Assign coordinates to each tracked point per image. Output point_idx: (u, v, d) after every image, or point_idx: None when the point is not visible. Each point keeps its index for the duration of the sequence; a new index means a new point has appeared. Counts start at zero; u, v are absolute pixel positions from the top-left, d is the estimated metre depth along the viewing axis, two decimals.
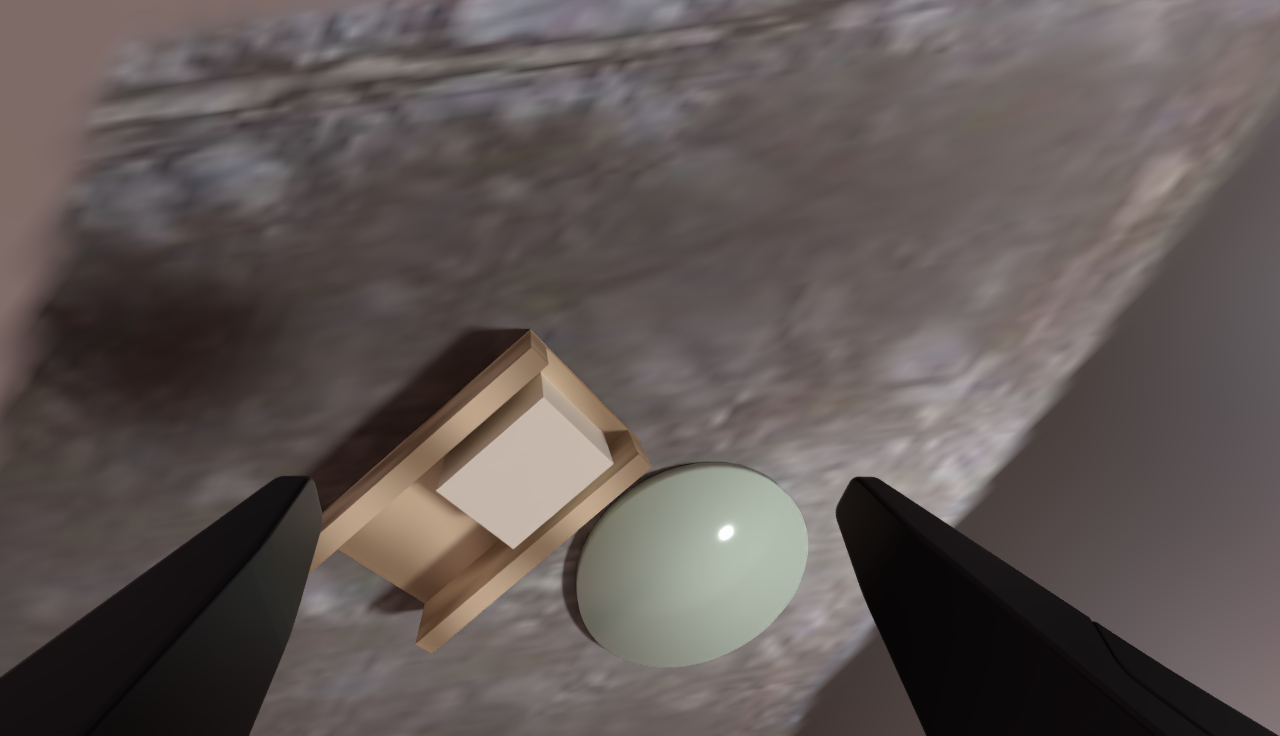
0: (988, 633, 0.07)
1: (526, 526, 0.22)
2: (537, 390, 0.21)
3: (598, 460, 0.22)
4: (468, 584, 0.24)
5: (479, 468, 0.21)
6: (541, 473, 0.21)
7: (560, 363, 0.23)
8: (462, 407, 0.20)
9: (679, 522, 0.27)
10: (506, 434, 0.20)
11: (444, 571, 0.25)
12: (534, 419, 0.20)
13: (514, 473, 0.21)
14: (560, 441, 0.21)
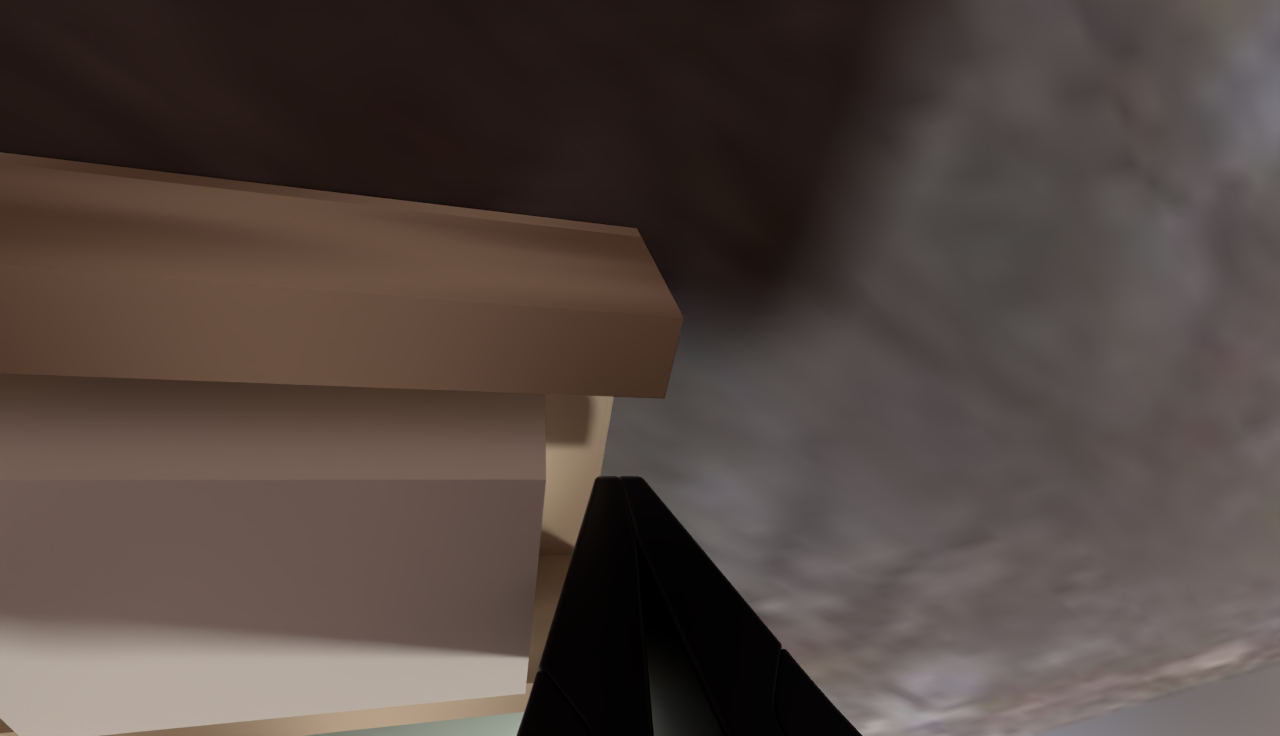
0: (672, 661, 0.06)
1: (132, 714, 0.06)
2: (523, 409, 0.06)
3: (501, 674, 0.07)
4: None
5: (85, 521, 0.04)
6: (319, 633, 0.06)
7: None
8: (252, 279, 0.04)
9: (506, 717, 0.13)
10: (309, 493, 0.05)
11: None
12: (450, 512, 0.05)
13: (224, 597, 0.05)
14: (458, 598, 0.06)
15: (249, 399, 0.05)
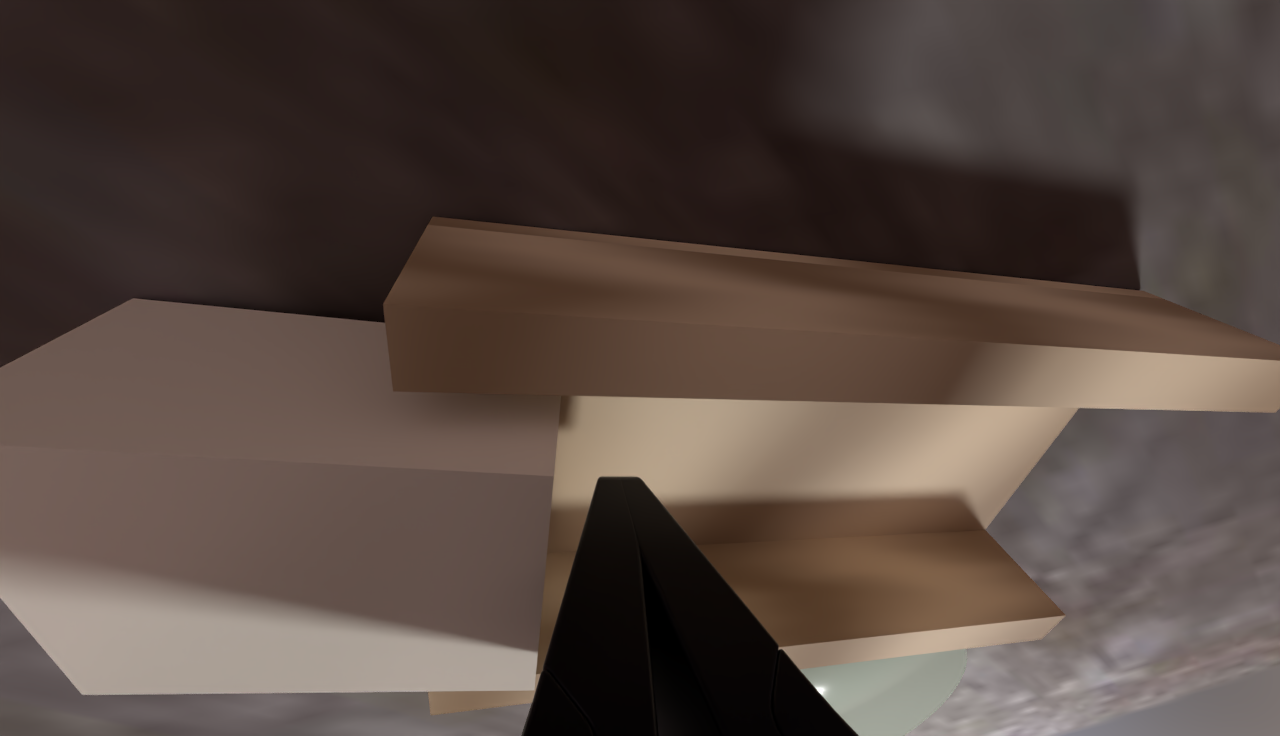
0: (669, 662, 0.06)
1: (172, 677, 0.07)
2: (538, 408, 0.06)
3: (511, 667, 0.07)
4: None
5: (137, 491, 0.05)
6: (339, 613, 0.06)
7: None
8: (1150, 349, 0.07)
9: (859, 669, 0.16)
10: (332, 478, 0.05)
11: (551, 532, 0.10)
12: (462, 503, 0.05)
13: (256, 571, 0.06)
14: (469, 588, 0.06)
15: (286, 387, 0.06)
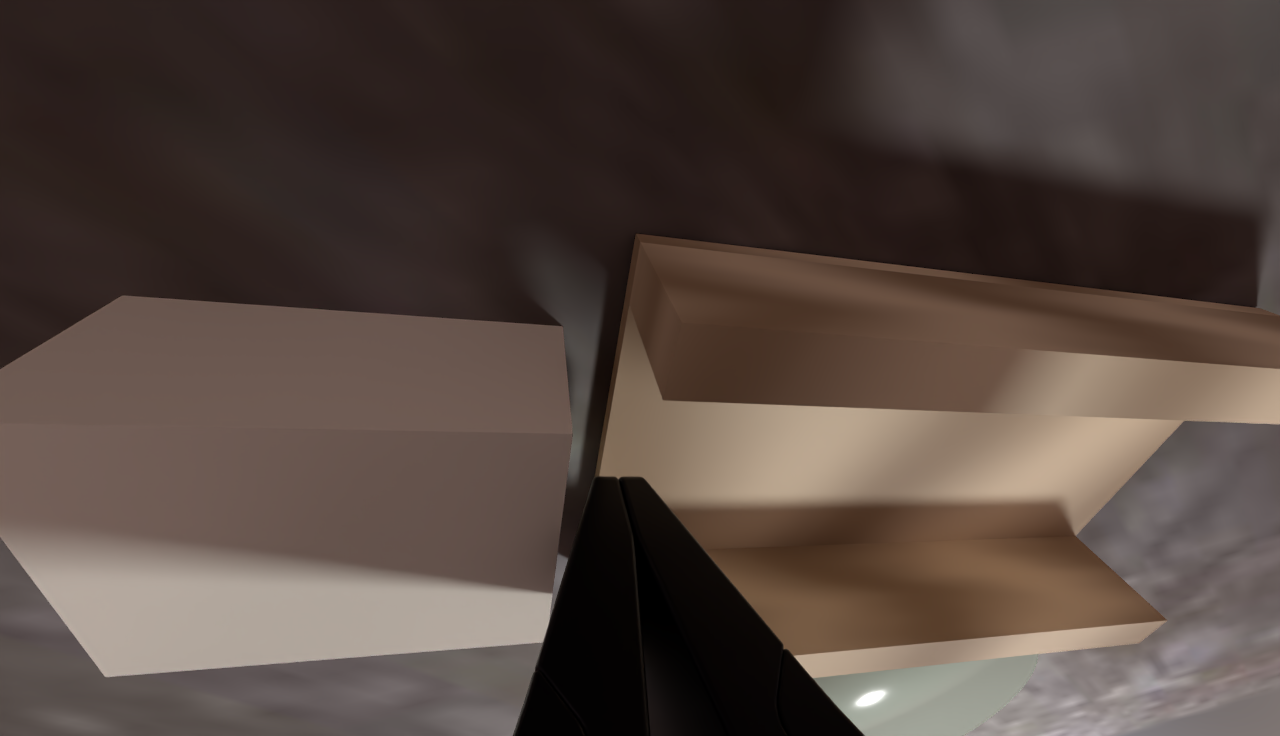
0: (674, 661, 0.06)
1: (199, 651, 0.07)
2: (548, 378, 0.07)
3: (526, 621, 0.08)
4: None
5: (182, 464, 0.05)
6: (369, 576, 0.07)
7: None
8: None
9: (936, 669, 0.17)
10: (371, 443, 0.05)
11: None
12: (489, 463, 0.06)
13: (292, 539, 0.06)
14: (491, 545, 0.07)
15: (311, 366, 0.06)
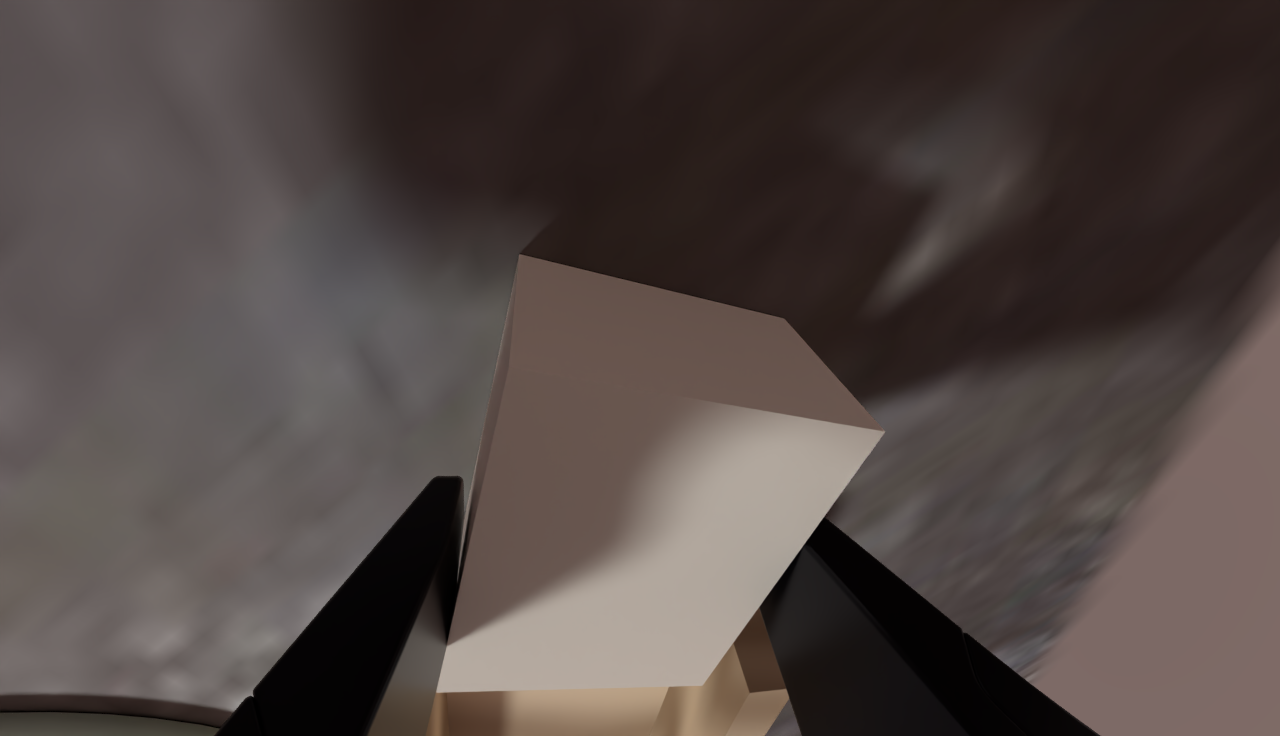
0: (856, 645, 0.06)
1: (530, 467, 0.05)
2: None
3: (484, 679, 0.08)
4: None
5: (778, 533, 0.07)
6: (604, 598, 0.07)
7: None
8: None
9: None
10: (743, 613, 0.08)
11: None
12: (697, 657, 0.08)
13: (676, 566, 0.07)
14: (610, 658, 0.08)
15: None
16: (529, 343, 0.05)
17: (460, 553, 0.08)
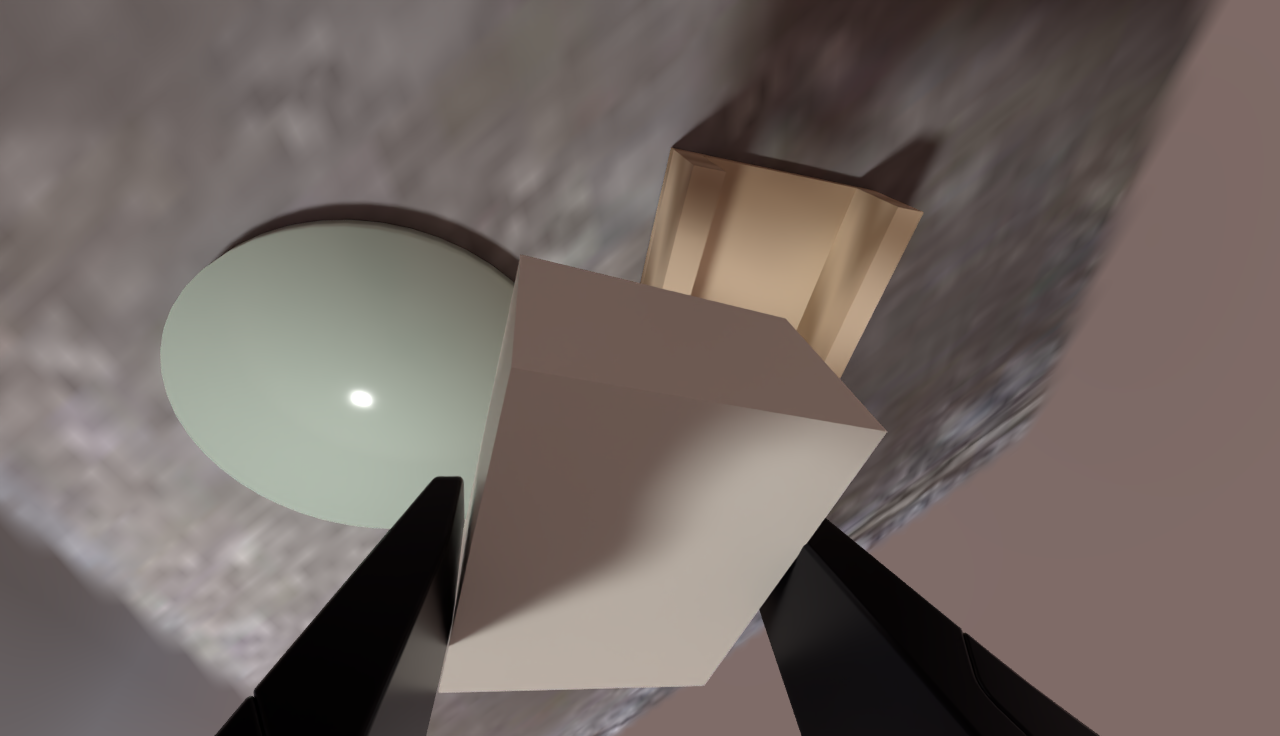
0: (855, 645, 0.06)
1: (532, 467, 0.05)
2: None
3: (485, 679, 0.08)
4: None
5: (780, 534, 0.07)
6: (605, 599, 0.07)
7: None
8: None
9: None
10: (745, 613, 0.08)
11: None
12: (699, 657, 0.08)
13: (677, 566, 0.07)
14: (612, 658, 0.08)
15: None
16: (531, 344, 0.05)
17: (462, 553, 0.08)
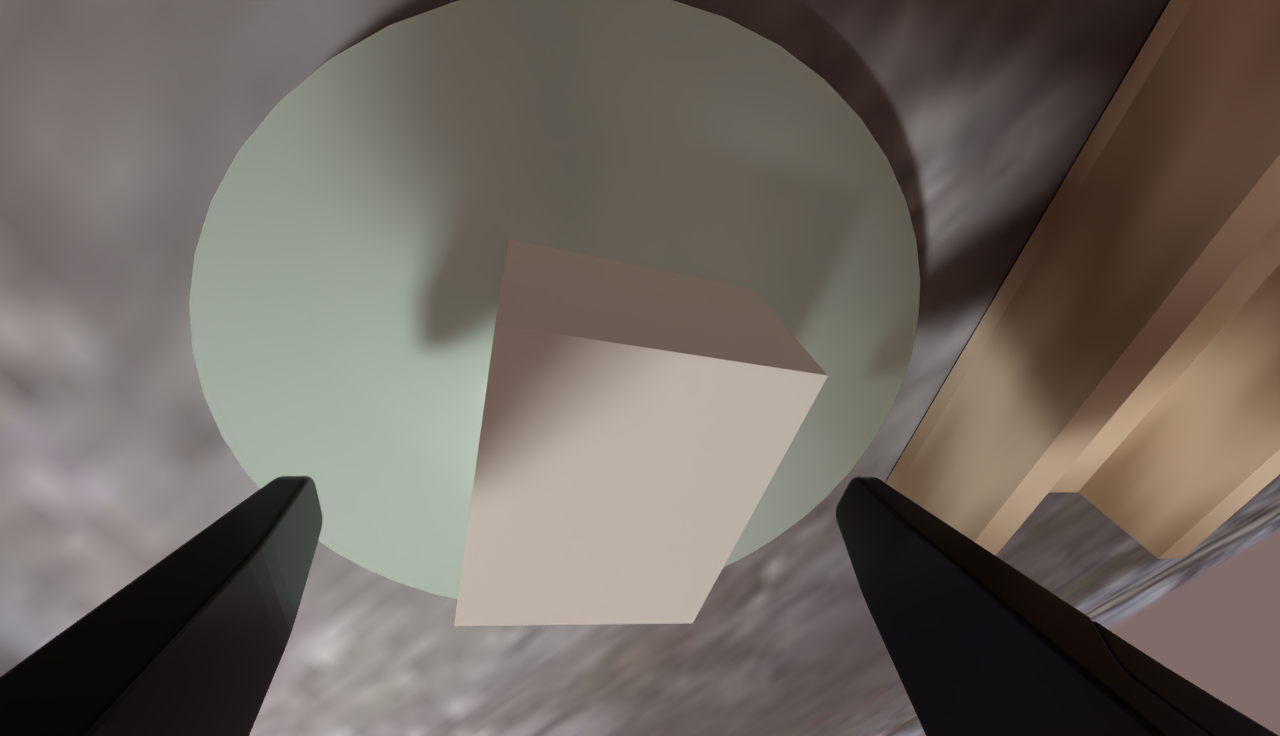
0: (988, 633, 0.07)
1: (520, 412, 0.06)
2: None
3: (495, 613, 0.09)
4: None
5: (744, 473, 0.08)
6: (594, 535, 0.08)
7: (1053, 490, 0.16)
8: None
9: None
10: (722, 550, 0.09)
11: None
12: (685, 594, 0.09)
13: (655, 504, 0.08)
14: (605, 595, 0.09)
15: None
16: (513, 307, 0.06)
17: None
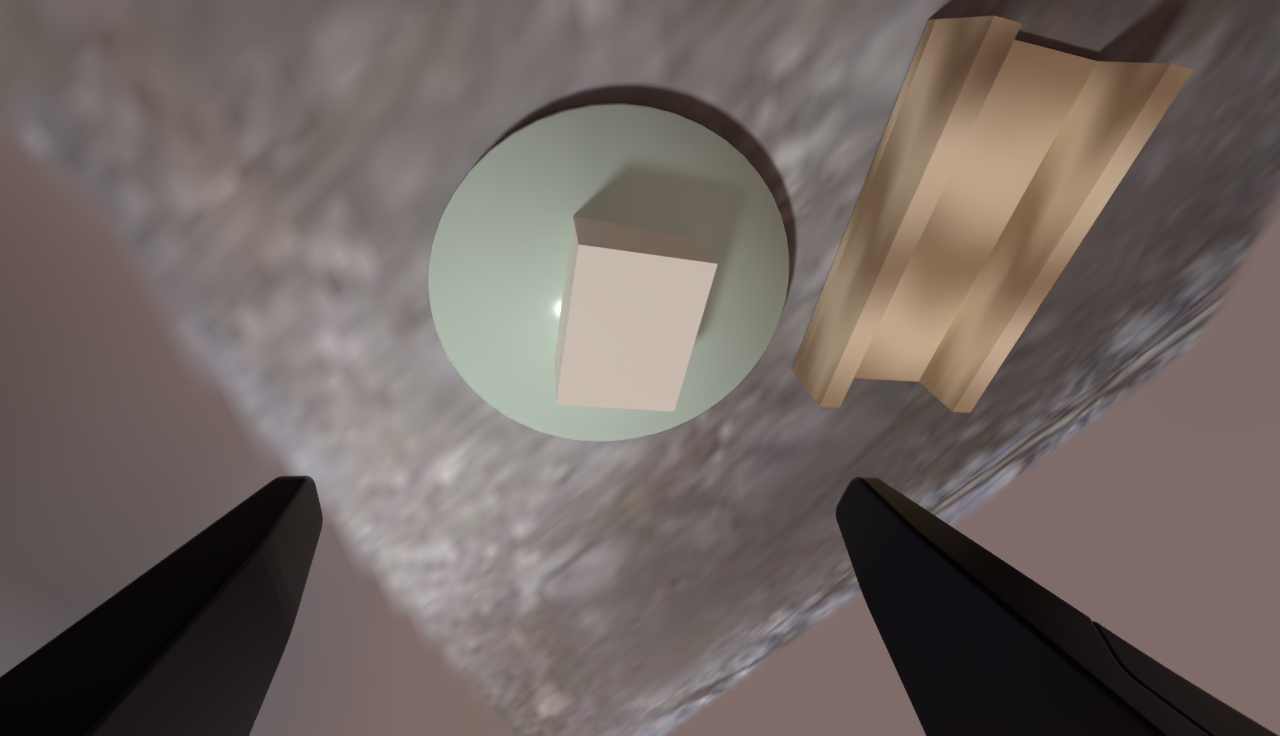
0: (988, 633, 0.07)
1: (587, 283, 0.15)
2: None
3: (575, 397, 0.18)
4: None
5: (687, 315, 0.17)
6: (620, 350, 0.17)
7: (901, 379, 0.25)
8: (1013, 341, 0.21)
9: (701, 345, 0.21)
10: (683, 362, 0.18)
11: None
12: (668, 390, 0.18)
13: (647, 333, 0.17)
14: (628, 388, 0.18)
15: None
16: (583, 239, 0.15)
17: (558, 353, 0.18)
